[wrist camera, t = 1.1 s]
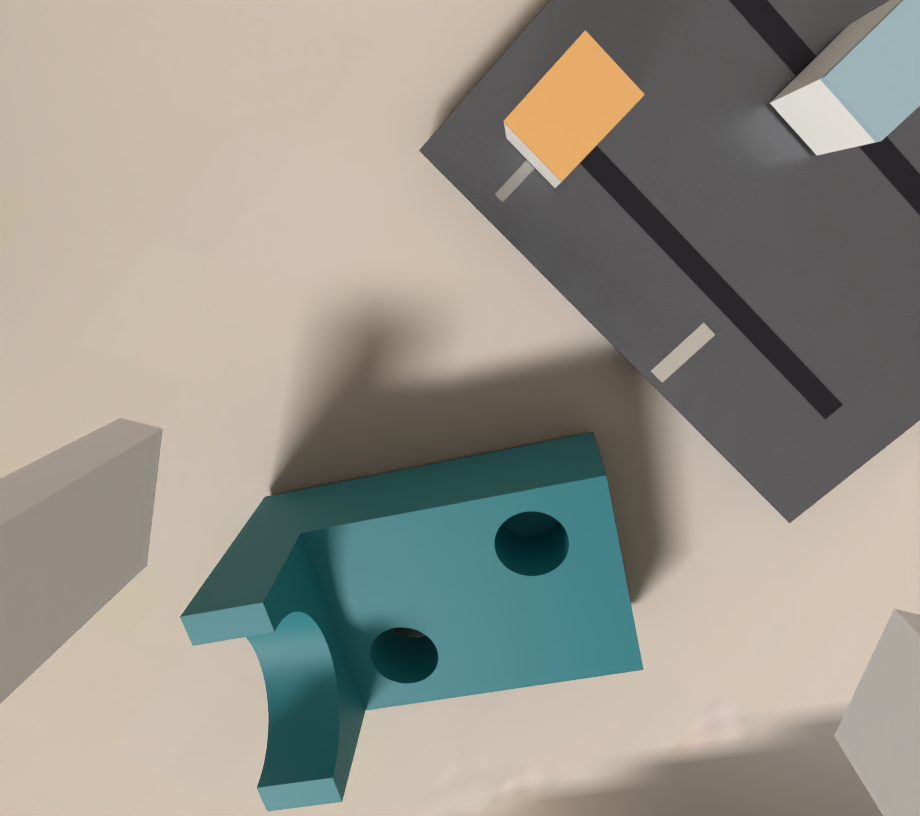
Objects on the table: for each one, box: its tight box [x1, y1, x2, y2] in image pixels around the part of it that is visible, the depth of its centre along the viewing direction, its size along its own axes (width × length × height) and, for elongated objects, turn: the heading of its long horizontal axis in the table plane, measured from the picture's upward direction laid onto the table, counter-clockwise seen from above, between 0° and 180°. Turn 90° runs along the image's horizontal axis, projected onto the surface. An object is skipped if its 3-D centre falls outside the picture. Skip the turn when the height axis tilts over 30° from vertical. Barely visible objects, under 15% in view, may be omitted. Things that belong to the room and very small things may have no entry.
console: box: [419, 0, 920, 523], centre depth 31 cm, size 25×18×2 cm
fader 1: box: [504, 30, 645, 188], centre depth 27 cm, size 3×4×5 cm
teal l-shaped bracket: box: [180, 432, 643, 811], centre depth 33 cm, size 18×11×10 cm, turn 104°
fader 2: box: [770, 0, 920, 155], centre depth 26 cm, size 3×4×5 cm
